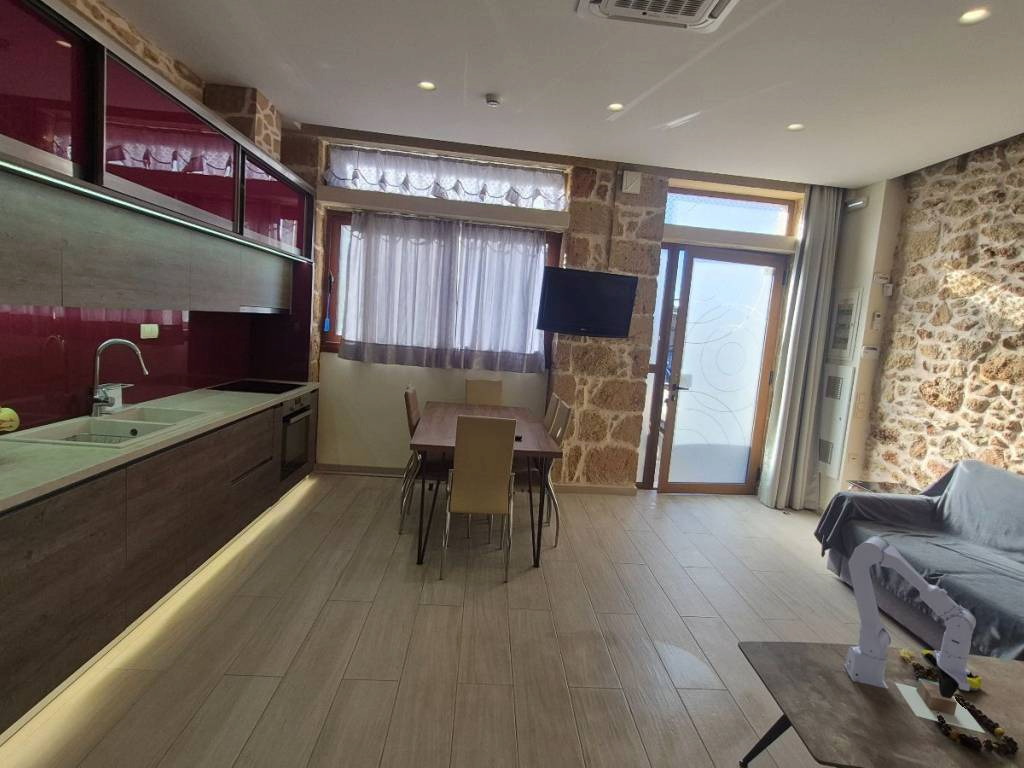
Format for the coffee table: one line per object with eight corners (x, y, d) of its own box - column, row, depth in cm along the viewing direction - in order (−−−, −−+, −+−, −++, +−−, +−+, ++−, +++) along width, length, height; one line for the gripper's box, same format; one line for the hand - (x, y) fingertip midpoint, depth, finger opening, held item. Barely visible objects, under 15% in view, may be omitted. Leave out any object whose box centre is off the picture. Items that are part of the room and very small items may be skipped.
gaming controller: (962, 697, 151) (990, 696, 153) (965, 680, 150) (993, 679, 152) (916, 663, 166) (941, 662, 167) (918, 648, 165) (944, 647, 167)
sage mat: (915, 717, 141) (916, 715, 141) (894, 684, 155) (894, 682, 154) (985, 735, 137) (985, 733, 137) (956, 699, 150) (957, 697, 150)
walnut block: (931, 696, 144) (918, 678, 151) (929, 709, 144) (916, 690, 152) (957, 702, 142) (942, 683, 149) (954, 715, 142) (939, 696, 150)
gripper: (987, 672, 133) (977, 719, 134) (957, 640, 146) (948, 682, 148) (955, 665, 135) (946, 711, 136) (928, 634, 148) (920, 676, 150)
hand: (945, 696), depth 142 cm, fingers closed
